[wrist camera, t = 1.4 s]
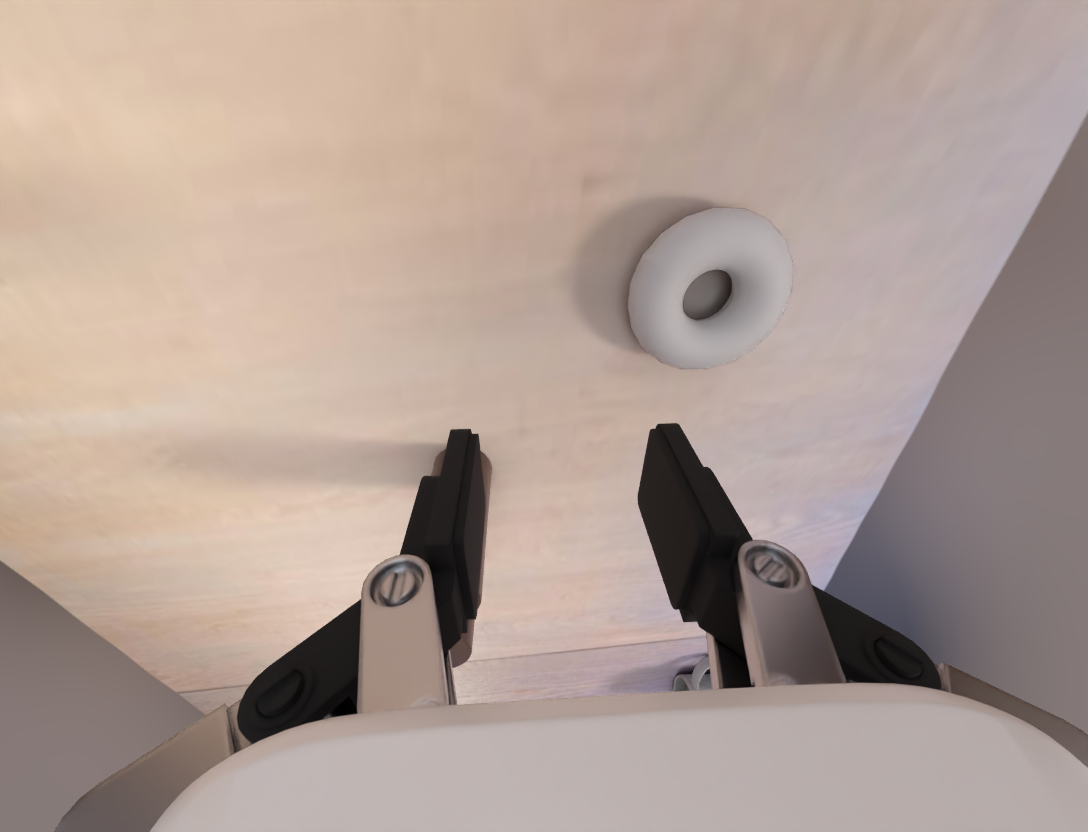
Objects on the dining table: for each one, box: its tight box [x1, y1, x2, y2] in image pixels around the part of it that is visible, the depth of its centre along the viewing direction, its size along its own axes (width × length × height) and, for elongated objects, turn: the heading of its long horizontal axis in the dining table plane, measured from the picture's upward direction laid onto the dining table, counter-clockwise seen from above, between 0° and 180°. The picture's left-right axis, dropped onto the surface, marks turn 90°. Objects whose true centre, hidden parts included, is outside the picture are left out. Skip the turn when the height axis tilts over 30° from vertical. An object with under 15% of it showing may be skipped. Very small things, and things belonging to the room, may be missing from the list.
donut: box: [627, 207, 793, 369], centre depth 25 cm, size 10×4×10 cm
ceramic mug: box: [673, 656, 712, 692], centre depth 55 cm, size 11×8×8 cm
